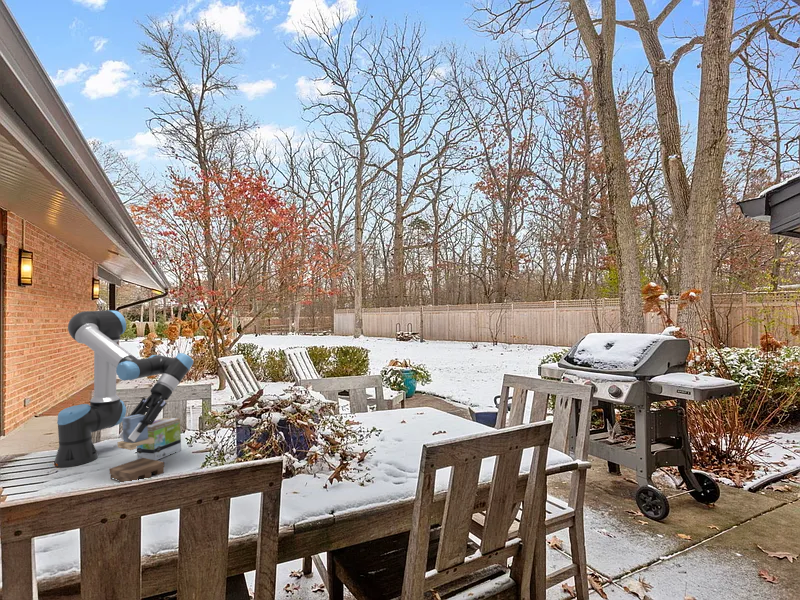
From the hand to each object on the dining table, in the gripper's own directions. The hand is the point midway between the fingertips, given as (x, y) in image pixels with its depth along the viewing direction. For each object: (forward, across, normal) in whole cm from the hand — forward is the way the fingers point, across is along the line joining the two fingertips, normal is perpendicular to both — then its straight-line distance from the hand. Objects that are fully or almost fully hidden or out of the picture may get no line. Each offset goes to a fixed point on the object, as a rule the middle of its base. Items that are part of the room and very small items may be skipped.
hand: (126, 438), depth 175 cm
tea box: (-5, +16, -27) cm, 32 cm away
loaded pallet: (0, 0, -5) cm, 5 cm away
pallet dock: (+8, 0, -13) cm, 16 cm away
